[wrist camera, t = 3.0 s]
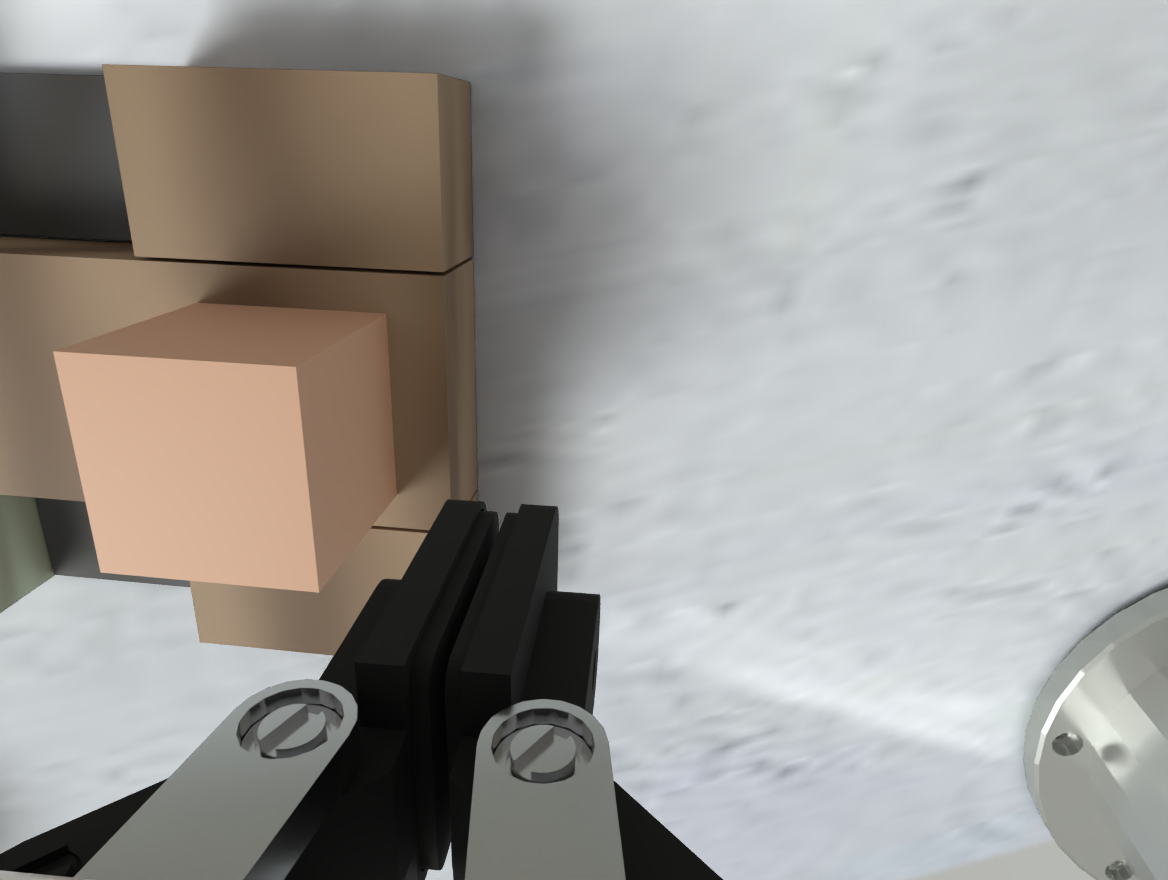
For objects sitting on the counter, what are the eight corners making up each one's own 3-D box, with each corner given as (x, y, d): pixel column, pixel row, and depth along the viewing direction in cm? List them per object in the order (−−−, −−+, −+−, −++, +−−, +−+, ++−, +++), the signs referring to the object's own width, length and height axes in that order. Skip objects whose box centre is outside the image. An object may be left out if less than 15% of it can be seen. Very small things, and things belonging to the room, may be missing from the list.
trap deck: (470, 82, 20) (408, 65, 16) (479, 611, 26) (436, 713, 22) (-348, 59, 23) (-613, 38, 18) (-175, 550, 28) (-341, 631, 24)
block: (386, 313, 20) (296, 366, 15) (396, 494, 22) (319, 592, 17) (196, 302, 20) (52, 351, 16) (222, 481, 22) (100, 572, 17)
